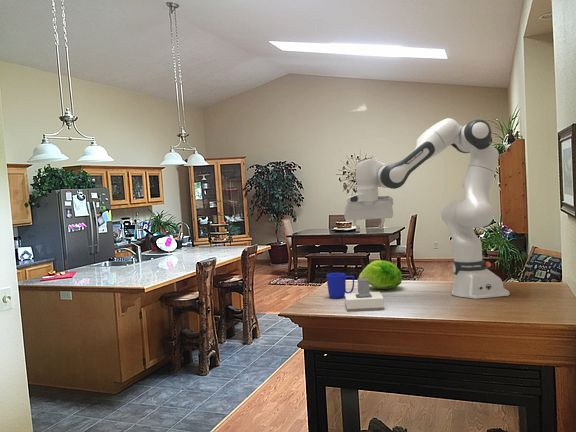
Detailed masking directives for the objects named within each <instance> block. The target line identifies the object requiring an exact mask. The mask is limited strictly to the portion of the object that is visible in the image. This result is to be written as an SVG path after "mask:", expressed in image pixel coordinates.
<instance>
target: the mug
mask: <svg viewBox="0 0 576 432" xmlns="http://www.w3.org/2000/svg"><path fill="white" fill-rule="evenodd" d="M325 276H326V282H327V283H326V285H327V289H328V290H327V291H328V296H329V298H332V299H341V298H345V293H353V291H354V288H355V275H346V274H345V273H344V272H331V273H328V274H326V275H325ZM347 278H351V279H352V285H351V286H352V287H351V290H350V291H347V290H346V289H347V288H346V284H347V283H346V282H347Z"/></svg>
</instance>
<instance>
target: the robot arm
mask: <svg viewBox="0 0 576 432" xmlns="http://www.w3.org/2000/svg"><path fill="white" fill-rule="evenodd" d="M492 143H493V138H492V129H491V125H490V123H489V122H487V121H486V120H483V119H474V120H471V121H469V122H468V123H466V124H465V125H461V124H459V122H458V121H457V120H455V119H453V118H450V117H447V118H444V119H442V120H440V121H438V122H437V123H434V124H433V125H432V126H430V127H429V128H427V129H426V130H425V131H424V132H423V133H421V134H420V135H419V137H418V138H417V139H416V142H415V148H414V149H413V150H412V151H411V152H410V153H408V154H407V155H406V156H404V158H402V159H400V160H399V161H397V162H393V163H389V164H387V163H384V162H381V161H380V160H377V158H375V157H368V158H364V159H363V158H362V159H361V160H358V161H357V163H356V164H355V165H356V167H355V180H356V181H355V182H356V193H354V194H352V195H350V196H347V197H346V202H347V203H345V207H344V213H343V214H344V220H345V221H352V224H353V225H354V226H355V232H359V231H361V227H360V225H358V224H357V222H358V221H359V220H360V221H361V220H379V219H380V221H381V222H380V224H378V230H383V227H384V223H386V222H385V221H386V219H392V218H393V217H394V210H393V206H394V200H393V197H391V196H389V195H384V196H383V195H381V196H379V187H380V188H384V189H391V190H392V189H393V190H395V189H399V188H401V187H402V186H403V185H404V184H405V183H406V182H407V180H408V178H409V176H410V175H411V173H413V172H414V171H415V170H416V169H418V168H419V167H420V166H421V165H422V164H424V163H425V162H426V161H427V160H430V159H431V158H434V157H435V156H438V155H439V154H440V153H442V152H443V151H444V150H446V149H447V148H448V147H450V146H452V147H453V148H455V149H456V151H457V152H458V153H459V152H460V153H463V154H469V153H470V158H469V159H470V160H469V163H468V166H467V168H466V170H465V173H464V177H463V180H462V184H461V186H462V188H463V189H464V191H465V195H464V196H465V197H464V199H463V200H453V201H450V202H447V203H445V204H443V206H442V208H441V209H440V216H441V220H442V221H443V222H444V224H446V226H447V228H448V230H449V233H450V237H451V240H452V247H453V248H452V249H453V261H452V272H453V284H452V291H451V295H453V296H454V297H461V298H470V299H474V300H477V299H478V300H479V299H486V298H487V299H488V298H489V299H490V298H498V297H508V296H510V291H509V290H508V289H506V288H504V284H503V280H502V279H501V277H499V276H498V275H496V274H495V273H494V272H492V271H491V270H489V269H488V268H490V267H491V266H492V264H491V262H490V261H485V260H484V259H483V250H482V249H483V247H482V245H483V243H482V241H481V238H479V237H478V236H477V234H476V232H475V230H474V229H479V228H483V227H484V228H485V227H487V226H489V225H490V224H491V223H492V222H493V219H494V215H495V214H494V209H493V207H492V205H491V204H490V190H491V187H492V183H493V180H494V177H495V174H496V171H497V168H498V162H499V157H500V156H499V155H500V153H499V151H498V149H497V148H496V147H494V146H493V145H492Z"/></svg>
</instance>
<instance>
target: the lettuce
mask: <svg viewBox="0 0 576 432" xmlns="http://www.w3.org/2000/svg"><path fill="white" fill-rule="evenodd" d="M359 278H368V280H369V286H371V287H374V288H376V289H379V290H391V289H394V288H397V287H398V286H399V285H401V284H402V282H403V274H402V271H401V270H400V269H399V267H397V264H394V263H393V262H391V261H387V260H379V259H378V260H377V259H376V260H373V261H371V262H370V263H369V264H367V266H365V267H364V269H363V270H362V271H361V272H360V273H359V276H358V279H359Z"/></svg>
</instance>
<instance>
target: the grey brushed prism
mask: <svg viewBox="0 0 576 432" xmlns="http://www.w3.org/2000/svg"><path fill="white" fill-rule="evenodd" d="M356 279H357V293H358V298H369V297H370V294H369V292H370V285H369V280H368V278H359V277H358V278H356Z"/></svg>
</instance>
